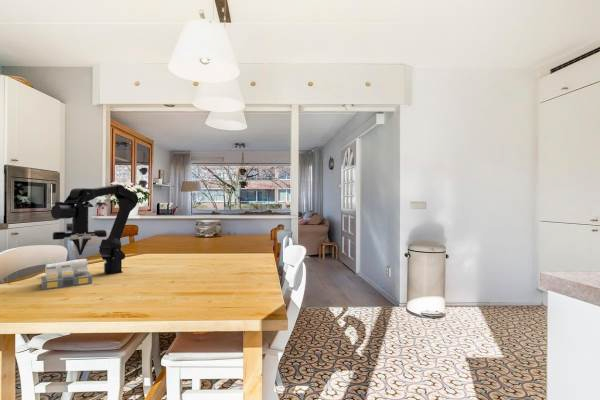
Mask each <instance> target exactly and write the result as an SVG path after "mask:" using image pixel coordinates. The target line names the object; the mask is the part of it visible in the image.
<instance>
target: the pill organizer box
mask: <svg viewBox="0 0 600 400" xmlns="http://www.w3.org/2000/svg"><path fill="white" fill-rule="evenodd" d="M40 279H41V280H40V281H41V282H40V286H41V290H42V291H45V290H51V289H59V288H60V289H61V288H67V287H69V288H70V287H73V286H74V287H75V286H82V285H84V286H85V285H90V284H93V275H92V274H91V273H90V272H89V270H88V271H85V272H76V273H73V277H65V278H62V274H58V278H57V279H49V280H46V275H42V276H40Z"/></svg>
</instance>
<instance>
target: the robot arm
mask: <svg viewBox="0 0 600 400" xmlns="http://www.w3.org/2000/svg"><path fill="white" fill-rule="evenodd" d="M108 195H109V196H110V195H114V198H115V199H116V200H118V201H117V204H118V211H117V214H116V217H115V220H114V222H113V224H112V227H111V230H110V233H109V235H108V234H107V230H104V229H94V231H89V208H94V205H93V204H92V203H91V202H90V201H92V200H94V199H96V198H97V197H102V196H108ZM138 202H139V197H138V195H137V193H135V192H133V191H132V190H130V189H128V188H126V187H125V186H124V185H122V184H111V185H106V186H100V187H94V188H89V187H88V188H85V187H84V188H79V187H78V188H72V189H71V190H70V193H69V195H68V196H67V197H66V198H65V200H64V201H55V202H54V205H53V206H52V208H51V210H50V214H51V217H52V218H53V219H55V220H61V219H63V220H65V219H67V220H68V219H72V222H71V223H66V225H65V226H66V228H65V229H66V232H65V230H64V231H53V232H52V240H53V241H55V240H64V239H65V238H69V241H70V242H71V241H72V242H73V243H74V246H75V248H76V250H77V253H78V255H79V256H82V255H83V252H84V249H85V247H86V245H87V244H88V241H90V240H92V238H91V237H94V236H95V237H98V238H103V239H102V240H101V242H100V245H99V246H98V249H99V250H98V252H99V255H101V259H102V261H103V260H104V261H105V262H104V263H103V272H104V273H105V274H106V275H114V274H120V273H123V271H122V268H123V267H122V264H123V263H122V261H123V260H125V258H126V253H124V252H123V251H122V242H121V238H122V236H123V233H124V231H125V227H126V224H127V221H128V218H129V216H130V214H131V211H133V210H134V209H135V208H136V206H137V205H138ZM107 235H108V237H107ZM79 237H81V238H80V239H81V241H80V239H79ZM106 237H107V238H106ZM105 238H106V239H105Z"/></svg>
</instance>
